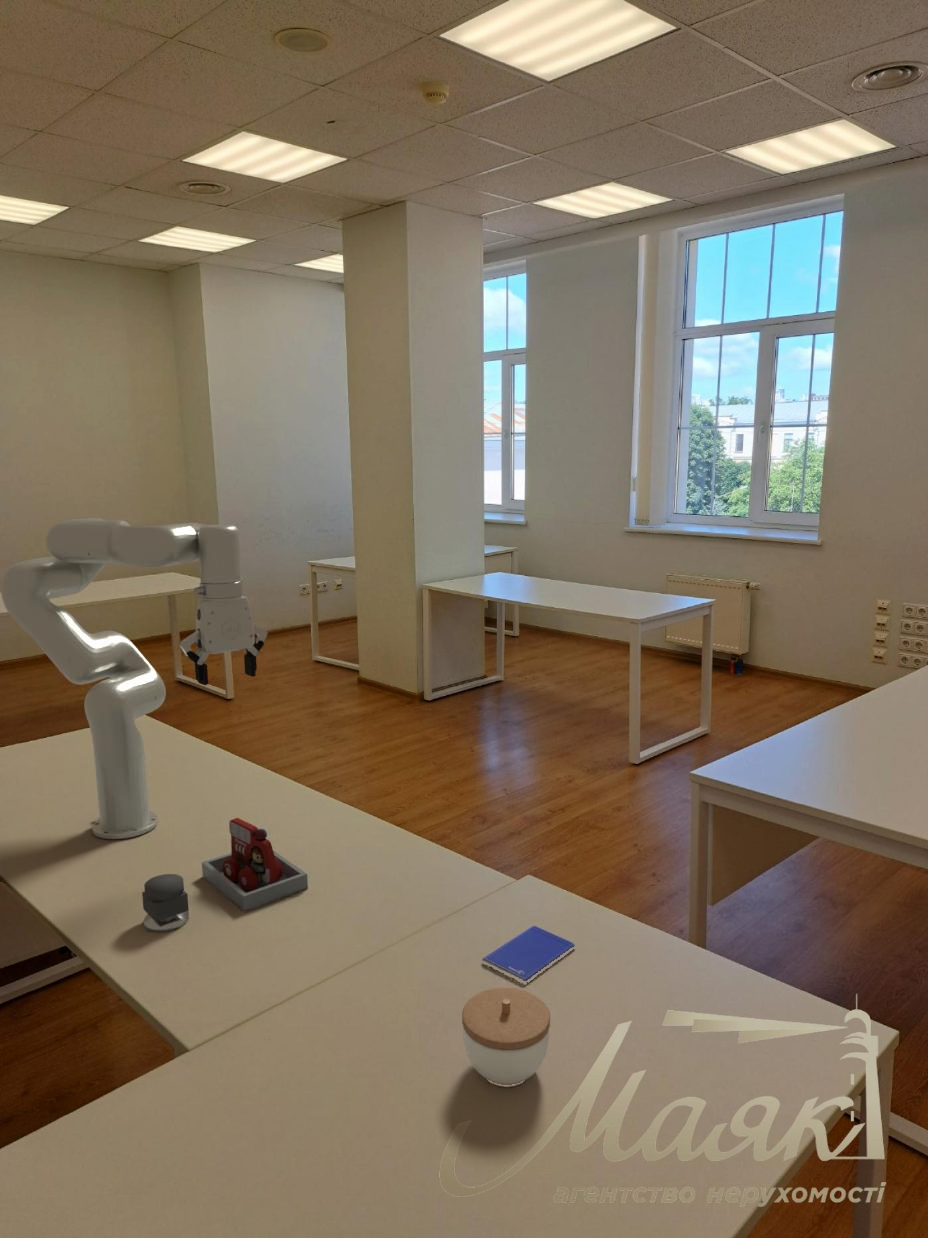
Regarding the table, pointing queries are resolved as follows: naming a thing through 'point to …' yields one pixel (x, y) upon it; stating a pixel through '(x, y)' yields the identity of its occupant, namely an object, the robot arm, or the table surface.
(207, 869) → the grey shallow rectangular tray
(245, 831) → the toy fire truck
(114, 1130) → the table surface
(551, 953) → the hard drive
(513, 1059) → the lidded jar
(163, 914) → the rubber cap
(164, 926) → the silver flared round stand
